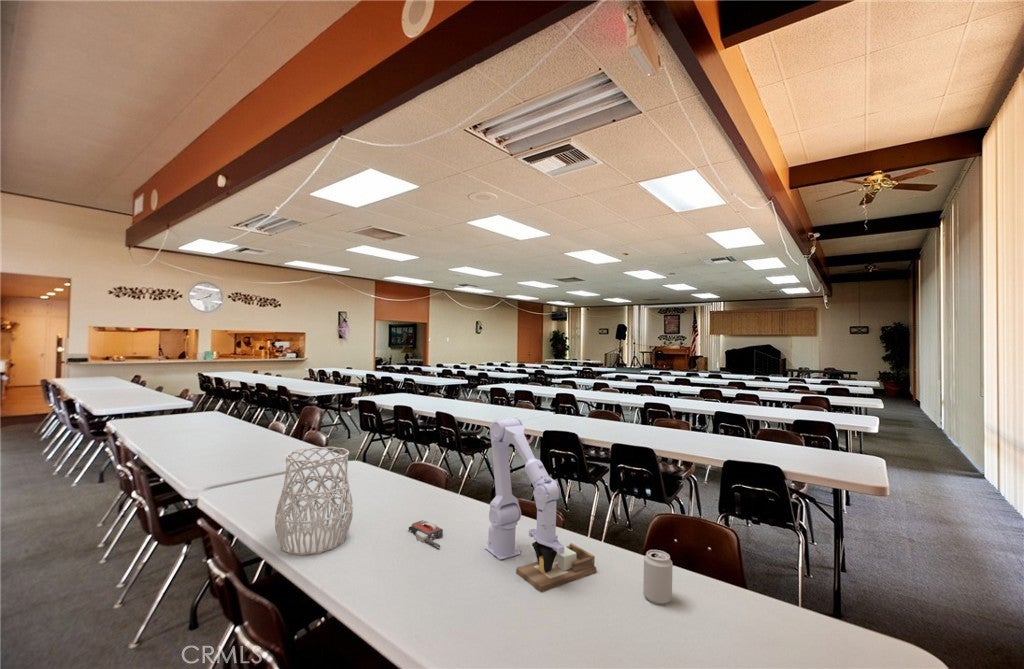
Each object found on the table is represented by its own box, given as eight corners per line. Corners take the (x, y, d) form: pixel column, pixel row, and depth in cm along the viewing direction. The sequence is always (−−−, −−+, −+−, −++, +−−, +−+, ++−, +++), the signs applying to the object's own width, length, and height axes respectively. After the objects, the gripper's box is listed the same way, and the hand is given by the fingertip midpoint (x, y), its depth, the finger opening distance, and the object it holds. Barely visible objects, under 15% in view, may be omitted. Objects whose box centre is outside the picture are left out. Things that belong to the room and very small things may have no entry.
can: (649, 587, 125) (650, 545, 125) (675, 597, 120) (676, 553, 121) (638, 598, 119) (639, 554, 120) (666, 609, 114) (666, 563, 115)
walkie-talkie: (403, 533, 158) (436, 551, 144) (403, 521, 158) (437, 538, 144) (423, 526, 164) (457, 543, 150) (423, 514, 164) (457, 530, 151)
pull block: (535, 567, 131) (535, 553, 131) (563, 558, 137) (563, 545, 137) (547, 576, 126) (547, 562, 126) (576, 566, 132) (576, 553, 132)
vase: (323, 522, 165) (326, 442, 166) (366, 537, 152) (370, 451, 153) (258, 545, 144) (263, 454, 145) (302, 565, 131) (307, 465, 133)
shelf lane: (516, 573, 131) (516, 558, 131) (570, 556, 143) (570, 542, 143) (540, 592, 121) (541, 575, 121) (596, 572, 133) (596, 557, 133)
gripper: (572, 528, 126) (571, 576, 126) (541, 512, 138) (540, 555, 138) (553, 533, 122) (552, 582, 122) (523, 516, 134) (522, 561, 134)
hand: (545, 569), depth 129 cm, fingers closed on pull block, 2 cm apart
